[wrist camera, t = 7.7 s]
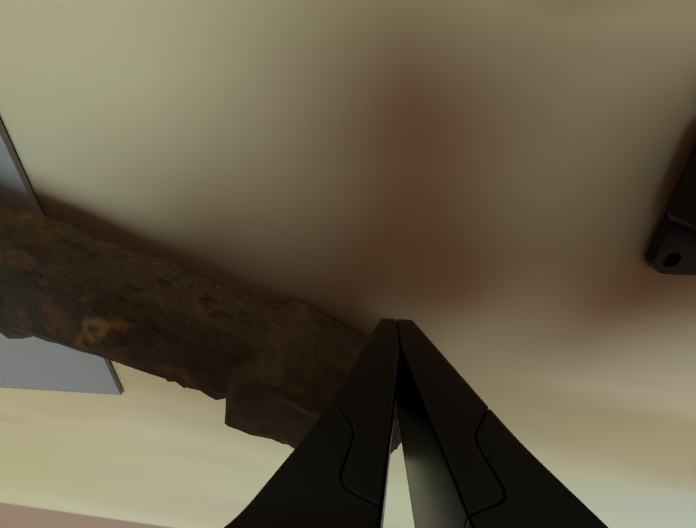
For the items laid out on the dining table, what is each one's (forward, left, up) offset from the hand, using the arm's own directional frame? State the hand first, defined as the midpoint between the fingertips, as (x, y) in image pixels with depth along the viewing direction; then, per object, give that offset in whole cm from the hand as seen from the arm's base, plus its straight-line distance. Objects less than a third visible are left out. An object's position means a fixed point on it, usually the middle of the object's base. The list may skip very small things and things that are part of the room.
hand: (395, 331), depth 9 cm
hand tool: (+8, 0, -3) cm, 8 cm away
